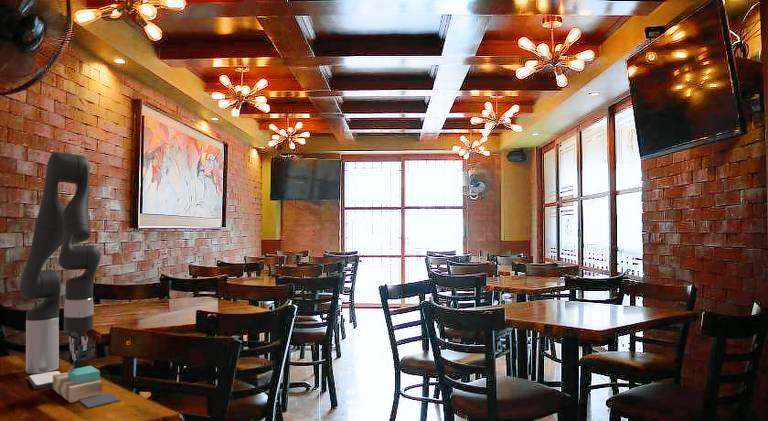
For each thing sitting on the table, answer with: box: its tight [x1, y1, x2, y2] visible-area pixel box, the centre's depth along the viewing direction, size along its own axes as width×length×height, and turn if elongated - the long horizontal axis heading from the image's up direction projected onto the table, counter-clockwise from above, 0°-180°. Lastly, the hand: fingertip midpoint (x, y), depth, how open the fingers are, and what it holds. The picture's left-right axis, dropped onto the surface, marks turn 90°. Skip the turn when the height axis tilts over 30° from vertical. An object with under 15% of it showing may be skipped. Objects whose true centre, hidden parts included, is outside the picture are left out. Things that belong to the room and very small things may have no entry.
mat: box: [77, 392, 122, 409], centre depth 145 cm, size 9×8×1 cm
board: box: [52, 371, 103, 404], centre depth 153 cm, size 18×8×4 cm, turn 45°
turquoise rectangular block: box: [67, 365, 101, 384], centre depth 152 cm, size 8×6×2 cm
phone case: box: [27, 370, 61, 390], centre depth 164 cm, size 9×2×16 cm
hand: (78, 372), depth 156 cm, fingers closed
